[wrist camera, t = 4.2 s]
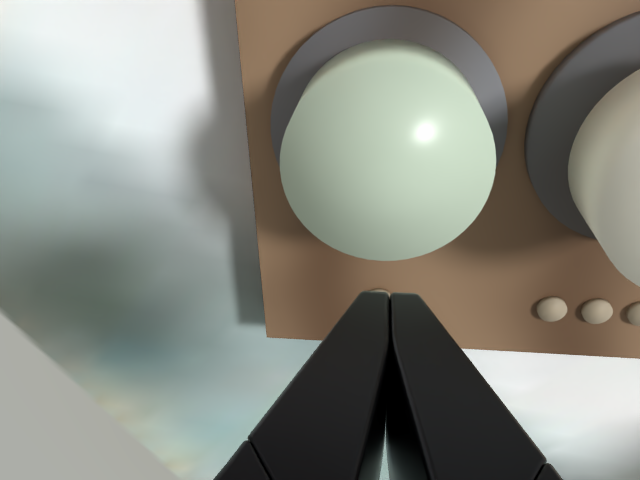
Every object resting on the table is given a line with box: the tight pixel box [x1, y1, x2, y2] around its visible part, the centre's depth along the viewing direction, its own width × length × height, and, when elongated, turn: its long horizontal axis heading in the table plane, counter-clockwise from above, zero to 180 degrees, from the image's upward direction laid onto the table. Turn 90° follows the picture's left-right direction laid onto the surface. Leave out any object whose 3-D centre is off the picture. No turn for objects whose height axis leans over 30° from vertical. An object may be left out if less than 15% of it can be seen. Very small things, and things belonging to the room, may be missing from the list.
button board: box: [235, 0, 640, 359], centre depth 16 cm, size 22×13×2 cm, turn 91°
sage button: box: [280, 39, 496, 261], centre depth 14 cm, size 5×5×2 cm
